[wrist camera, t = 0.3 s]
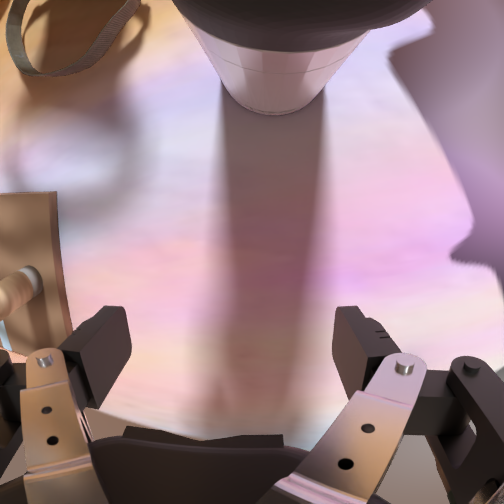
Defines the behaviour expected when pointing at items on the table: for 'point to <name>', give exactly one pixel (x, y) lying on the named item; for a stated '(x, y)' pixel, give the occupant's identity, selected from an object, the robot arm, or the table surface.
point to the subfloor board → (44, 260)
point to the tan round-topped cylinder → (19, 289)
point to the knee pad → (84, 62)
